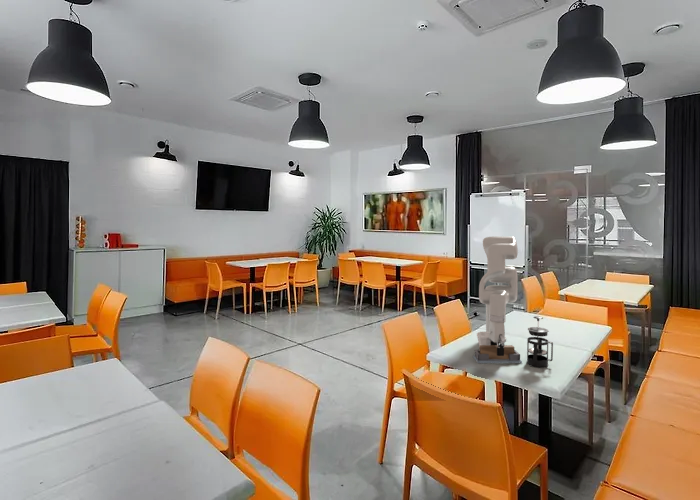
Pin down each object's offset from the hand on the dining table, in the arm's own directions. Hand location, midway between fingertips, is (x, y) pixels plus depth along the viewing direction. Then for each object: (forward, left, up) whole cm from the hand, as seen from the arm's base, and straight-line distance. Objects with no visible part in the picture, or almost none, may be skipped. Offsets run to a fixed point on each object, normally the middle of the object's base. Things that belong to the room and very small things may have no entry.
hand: (496, 352), depth 190 cm
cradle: (0, 0, -4) cm, 4 cm away
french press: (+6, +18, -4) cm, 19 cm away
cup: (-13, -1, -4) cm, 14 cm away
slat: (0, 0, -3) cm, 3 cm away
